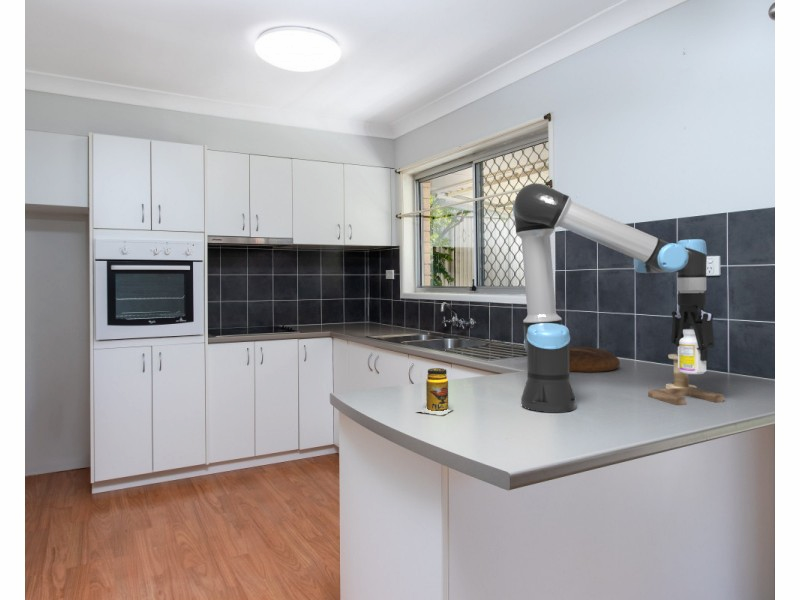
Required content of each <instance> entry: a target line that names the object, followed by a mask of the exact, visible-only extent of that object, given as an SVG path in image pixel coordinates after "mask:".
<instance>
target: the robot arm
mask: <svg viewBox="0 0 800 600" xmlns="http://www.w3.org/2000/svg"><path fill="white" fill-rule="evenodd" d="M512 207H513V208H512V213H513V214H512V215H513V216H514V225H515V226H514V227H515V235H516V236H518V237H519V238H520V239H521V246H522V247H521V250H522V262H523V275H524V287H525V298H526V310H527V315H526V317H525V318H524V319H523V320H522V321H523V322H522V323H523V335H524V337H523V338H524V340H523V346H524V350H525V352H526V355H527V356H526V357H527V358H526V359H527V360H526V365H527V370H526V371H527V372H526V373H527V376H526V381H525V382H526V383H525V385H524V389H523V392H522V395H521V396H520V397H521V399H520V405H521V404H522V406H524V407H526V408H529V409H532V410H531V411H534V410H536V411H535V412H540V411H544V412H543V413H568V412H572V411H574V410H576V409H577V401H576V396H575V393H574V390H573V388H572V384H571V380H570V371H569V347H570V340H571V335H570V330H569V328H568V327H567V326H566V325H563V322H562V321H563V320H562V317H561V316H560V315H558V313H557V310H556V309H557V308H556V296H555V295H556V294H555V283H554V270H553V259H552V258H553V257H552V246H551V245H552V244H551V235H552V234H553V233H554V231H555V229H556V228H558V227H560V228H562V229H565V230H568V231H569V232H571V233H574V234H576V235H579V236H581V237H583V238H585V239H589V240H591V241H593V242H595V243H598V244H599V245H603V246H604V247H607V248H609V249H611V250H614V251H617V252H619V253H621V254H624V255H625V256H628V257H629V258H633V268H634V270H635V272H636V273H638V274H639V273H640V274H641V273H643V274H644V273H645V274H649V273H650V274H653V273H654V274H657V273H658V274H659V273H677V281H676V285H677V286H676V289H677V291H678V293H677V294H676V295H677V302H676V303H677V306H680V307H679V310H675V311H674V310H673V311H672V312H671V316H672V326H671V339H670V342H671V343H672V344H674V345H675V347H676V354H677V356H678V368H680V367H679V341H680V339H681V338H683V337H684V335H683V329H691V327H692V329H694V332H695V336H696V339H697V343H698V347H699V348H697V349H696V372H704V373H705V372H707V361H708V355H709V354H708V352H709V351H708V350H709V349H713V348H714V347H715V341H714V328H713V320H714V313H712V312H711V313H709V312H706V310H705V306H706V305H707V294H706V292H705V291H707V264H708V263H707V257H708V250H707V243H706V242H707V241H705V240H704V239H700V238H695V239H694V238H693V239H681V240H678V241H677V243H675V242H674V243H673V242H671V243H670V242H668V241H666V240H663V239H660V238H658V237H656V236H653V235H651V234H649V233H646V232H644V231H643V230H640V229H637V228H635V227H632V226H630V225H627V224H625V223H623V222H620V221H619V220H616V219H614V218H612V217H609V216H607V215H604V214H602V213H599V212H597V211H595V210H593V209H590V208H588V207H586V206H583V205H581V204H578V203H576V202H574V201H573V200H572V199H571V196H569V195H568V194H564V193H562V192H560V191H559V190H556V189H554V188H552V187H550V186H548V185H546V184H542V183H538V182H537V183H530V184H527V185H525V186H524V187H522V188H521V189H520V190H519V191H518V192H517V194H516V197H515V199H514V203H513V206H512ZM522 406H521V407H522ZM524 407H523V408H524ZM526 408H525V409H526ZM529 409H528V410H529Z"/></svg>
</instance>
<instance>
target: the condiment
mask: <svg viewBox="0 0 800 600" xmlns="http://www.w3.org/2000/svg"><path fill="white" fill-rule="evenodd" d="M447 373H448V371H447V369H446V368H443V367H442V368H440V367H435V368H433V367H432V368H429V369H427V379H426V381H425V382H426V383H425V384H426V388H425V389H426V399H425V400H426V403H425V404H426V407H427V409H428V410H431V411H444V410H447V409H449V379H448V378H447V377H448V376H447Z"/></svg>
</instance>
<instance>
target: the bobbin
mask: <svg viewBox="0 0 800 600" xmlns="http://www.w3.org/2000/svg"><path fill="white" fill-rule="evenodd" d="M667 356H668V359H670V360H673V383H666V384H665V389H671V388H686V387H694V388H698V386H697V385H693V384H690V382H689V380H690V374H685V373H682V372H680V368H678V356H677V353H670V354H668V355H667Z"/></svg>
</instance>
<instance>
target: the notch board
mask: <svg viewBox="0 0 800 600" xmlns="http://www.w3.org/2000/svg"><path fill="white" fill-rule="evenodd" d="M684 396H685V397H684ZM686 396H690V397H694V398H698V399H700V400H705V401H708V402H713V403H720V402H721V403H722V402H724V394H722V393H717V392H713V391H708V390H707V389H706V390H705V389H701V388H698V387H697V388H694V387H686V388H671V389H666V388H659V389H648V390H647V397H650V398H651V399H652V398H653V399H656V400H659V401H662V402H666V403H669V404H671V405H675V406H682V405H686Z"/></svg>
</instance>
